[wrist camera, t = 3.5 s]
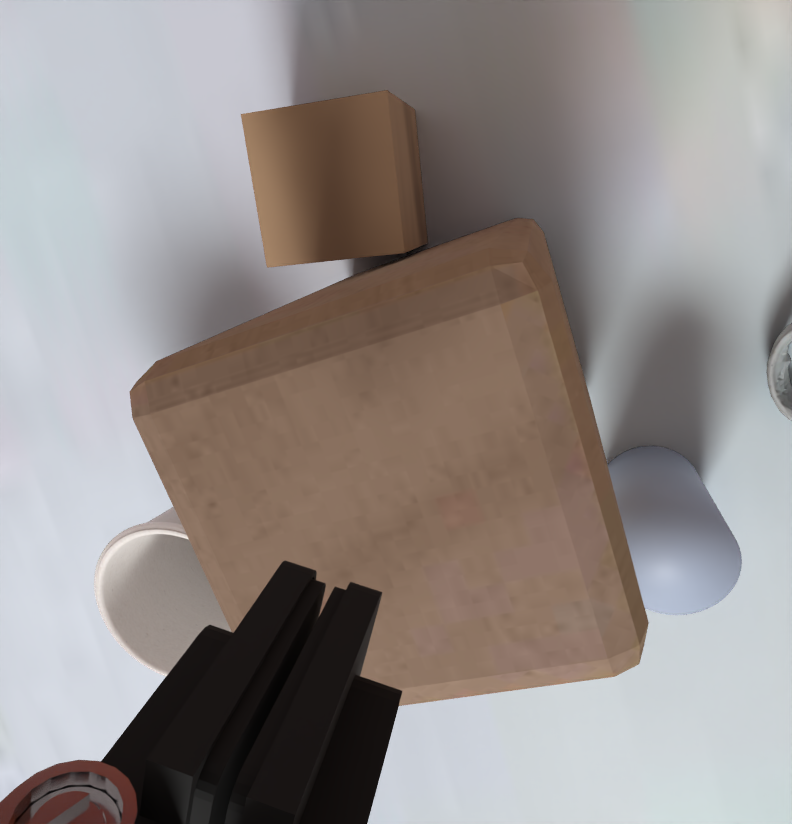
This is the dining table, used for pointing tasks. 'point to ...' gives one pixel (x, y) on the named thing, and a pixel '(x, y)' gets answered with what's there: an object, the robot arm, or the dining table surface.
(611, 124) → the dining table surface
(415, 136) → the walnut cube
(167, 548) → the dixie cup
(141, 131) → the dining table surface
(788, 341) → the ceramic mug
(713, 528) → the bluegrey post
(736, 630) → the dining table surface
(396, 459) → the block
